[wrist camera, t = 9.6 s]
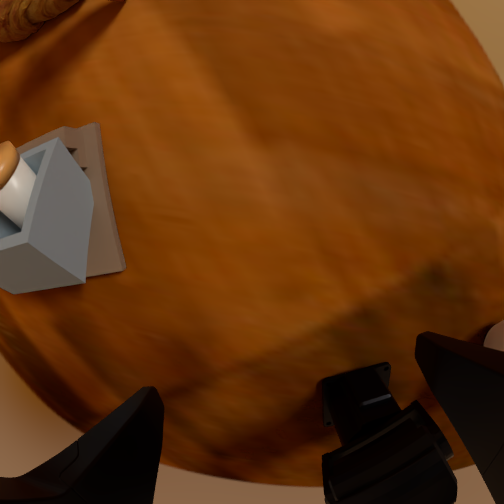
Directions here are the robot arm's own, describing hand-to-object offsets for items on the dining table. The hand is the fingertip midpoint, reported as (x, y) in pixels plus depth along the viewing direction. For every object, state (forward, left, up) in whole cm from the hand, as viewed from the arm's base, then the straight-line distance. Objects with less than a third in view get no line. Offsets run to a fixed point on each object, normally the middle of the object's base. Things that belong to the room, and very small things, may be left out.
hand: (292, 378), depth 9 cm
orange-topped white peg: (+6, +14, -10) cm, 18 cm away
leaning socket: (+7, +14, -12) cm, 20 cm away
